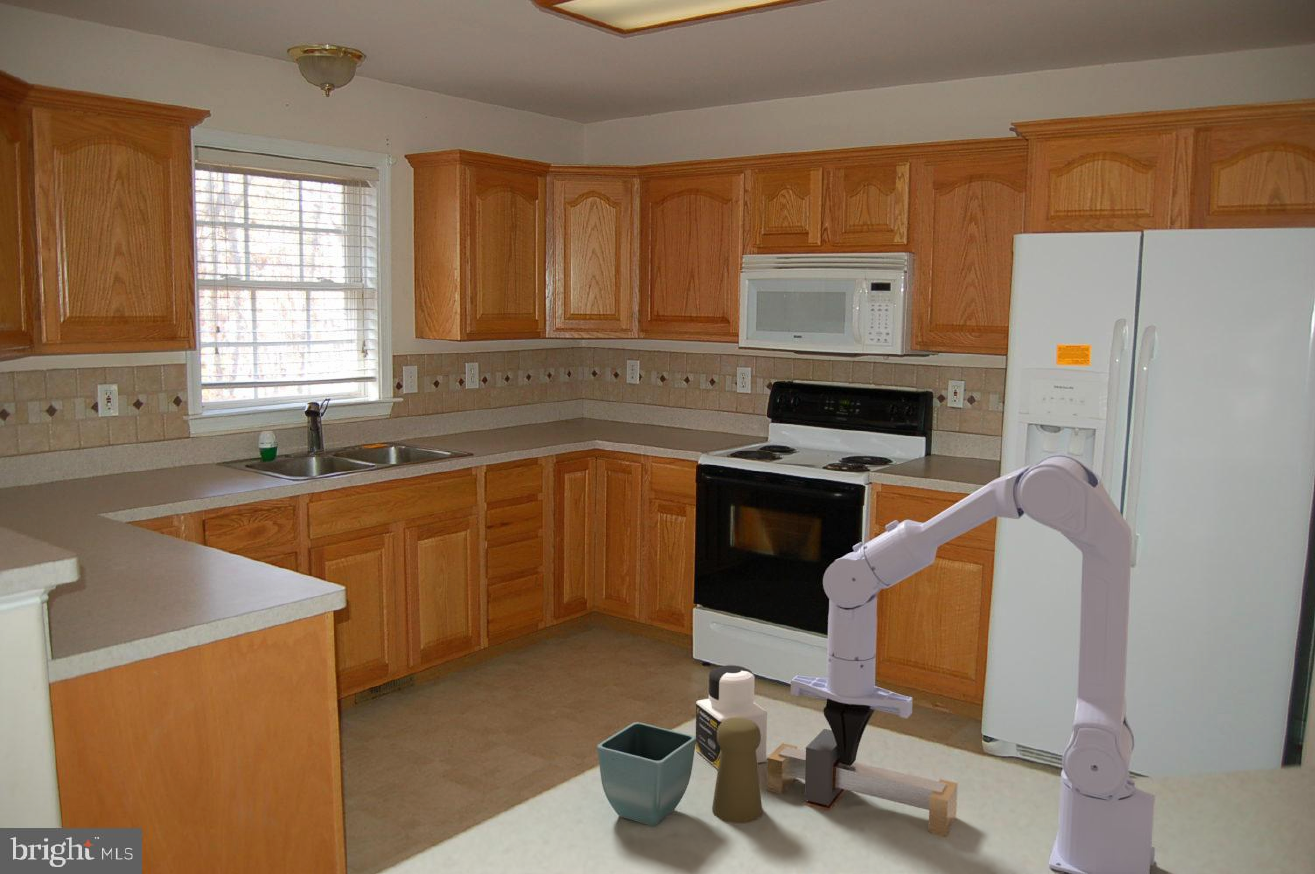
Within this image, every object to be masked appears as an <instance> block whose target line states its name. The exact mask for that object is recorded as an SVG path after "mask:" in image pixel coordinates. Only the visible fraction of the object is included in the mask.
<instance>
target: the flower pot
mask: <svg viewBox="0 0 1315 874" xmlns="http://www.w3.org/2000/svg"><path fill="white" fill-rule="evenodd" d="M596 748H597V756H598V764H599V772H600V773H599V774H600V779H601V780H600V781H601V785H602V789H603V791H604V794H605V796H606V798H607V801H608V802H609V804H610V805H611V807H612V808H613V809H612V810H614V811H615V813H616V814H617V815H618V816H619V817H622V818H625V819H628V820H632V821H635V822H638V823H641V824H644V825H646V826H651V827H654V826H657V825H658V824H659V823H660V822H661V821H662V820H664V819H665V818H667V816H670V814H672V813H673V812H674V811H675V810H676V809H677V807H678V805H679V803H680V802H681V801H682V799H683V797H684V795H685V792H686V791H687V788H688V786H689V783H690V780H691V775H692V771H693V765H694V760H695V759H694V758H695V757H694V756H695V751H696V749H695V748H696V735H693V734H692V735H691V734H688V733H684V732H680V731H675V730H672V729H668V728H663V727H658V726H655V725H651V724H647V723H643V722H639V721H635V722H633V723H630V724H629V725H628V726H626V727H624V728H623V729H621V730H620V731H618V732H616V733H614V734H613V735H611V736H610V737H608V738H607V739H605V740H603V741H602V742H600V743H598V744H597V745H596Z"/></svg>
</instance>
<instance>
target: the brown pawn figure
mask: <svg viewBox="0 0 1315 874" xmlns="http://www.w3.org/2000/svg"><path fill="white" fill-rule="evenodd" d="M760 741H761V734H760V729H759V727H758V725H757V724H756V723H755V722H753V721H751V720H749V719H746V718H737V717H736V718H729V719H726V720H724V721H722V722H721V724H720V725H719V727H718V729H717V742H718V745H719V746H720V748H721V753H720V760H719V766H718V769H717V774H716V780H715V786H714V793H713V800H712V808H711V812H712V814H713V816H715V818H716V817H717V818H718V819H719V820H722V821H724V822H728V823H733V824H746V823H751V822H754V821H757V820H758V819H760V818H761V817H762V815H763V813H764V812H763V804H762V803H763V802H762V797H761V795H762V793H761V787H760V777H759V768H758V763H757V758H756V749H757V748H758V747H759V744H760Z"/></svg>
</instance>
